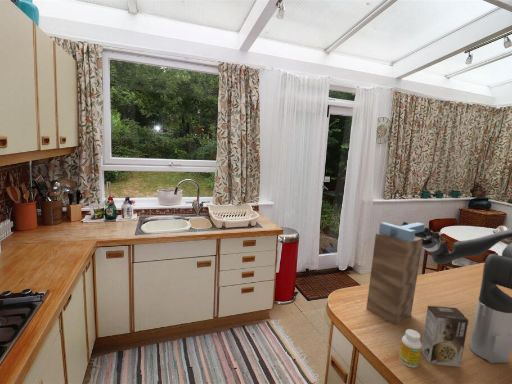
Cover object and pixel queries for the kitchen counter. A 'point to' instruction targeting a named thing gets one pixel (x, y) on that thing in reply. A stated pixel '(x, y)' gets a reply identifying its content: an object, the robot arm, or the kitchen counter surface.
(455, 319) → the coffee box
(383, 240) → the pedestal
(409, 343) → the supplement bottle
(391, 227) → the t bar
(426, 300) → the kitchen counter surface
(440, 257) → the robot arm
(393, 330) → the kitchen counter surface
